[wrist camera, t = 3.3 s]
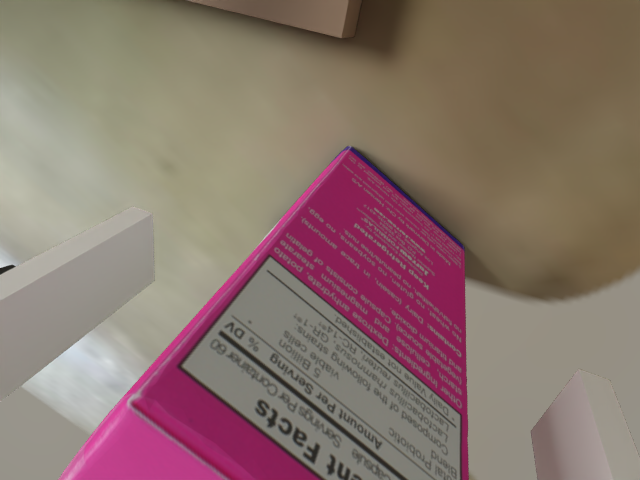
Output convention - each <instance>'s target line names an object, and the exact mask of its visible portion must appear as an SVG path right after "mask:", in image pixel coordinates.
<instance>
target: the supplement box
mask: <svg viewBox="0 0 640 480" xmlns="http://www.w3.org/2000/svg"><path fill="white" fill-rule="evenodd" d="M464 253H465V249H464V246H463V245H462V244H461V243H460V242H459V241H458V240H457V239H455V238H454V237H453V236H452V235H451V234H450V233H449V232H447V231H446V230H445V229H444V228H443V227H442V226H441V225H440V224H439V223H437V222H436V221H435V220H434V219H433V218H432V217H431V216H430V215H428V214H427V213H426V212H425V211H424V210H423V209H422V208H421V207H420V206H418V205H417V204H416V203H415V202H414V201H413V200H412V199H411V198H409V197H408V196H407V195H406V194H405V193H404V192H403V191H402V190H401V189H399V188H398V187H397V186H396V185H395V184H394V183H393V182H392V181H390V180H389V179H388V178H387V177H386V176H385V175H384V174H383V173H381V172H380V171H379V170H378V169H377V168H376V167H375V166H373V165H372V164H371V163H370V162H369V161H368V160H367V159H366V158H364V157H363V156H362V155H361V154H360V153H359V152H357V151H356V150H355V149H354V148H353V147H351V146H347V147H346V148H345V149H344V150H343V151H342V152H341V153H340V154H339V155H338V156H337V157H336V158H335V159H334V160H333V161H332V162H331V163H330V164H329V166H328V167H327V168H326V169H325V170H324V171H323V172H322V173H321V175H320V176H319V177H318V178H317V179H316V180H315V181H314V182H313V183H312V185H311V186H310V187H309V188H308V189H307V190H306V191H305V192H304V194H303V195H302V196H301V197H300V198H299V199H298V200H297V201H296V203H295V204H294V205H293V206H292V207H291V208H290V209H289V210H288V211H287V213H286V214H285V215H284V216H283V217H282V218H281V219H280V220H279V222H278V223H277V224H276V225H275V226H274V227H273V229H272V230H271V231H270V232H269V233H268V234H267V235H266V237H265V238H264V239H263V240H262V241H261V242H260V244H259V245H258V246H257V247H256V248H255V250H254V251H253V252H252V253H251V254H250V255H249V257H248V258H247V259H246V260H245V261H244V262H243V263H242V264H241V266H240V267H239V268H238V269H237V270H236V271H235V272H234V273H233V274H232V276H231V277H230V278H229V279H228V280H227V281H226V282H225V283H224V285H223V286H222V287H221V288H220V289H219V290H218V291H217V292H216V293H215V295H214V296H213V297H212V298H211V299H210V300H209V301H208V302H207V304H206V305H205V306H204V307H203V308H202V309H201V310H200V311H199V313H198V314H197V315H196V316H195V317H194V318H193V319H192V320H191V322H190V323H189V324H188V325H187V326H186V327H185V328H184V329H183V330H182V332H181V333H180V334H179V335H178V336H177V337H176V338H175V339H174V340H173V342H172V343H171V344H170V345H169V346H168V347H167V348H166V349H165V351H164V352H163V353H162V354H161V355H160V356H159V357H158V358H157V360H156V361H155V362H154V363H153V364H152V365H151V366H150V367H149V369H148V370H147V371H146V372H145V373H144V374H143V375H142V376H141V377H140V379H139V380H138V381H137V382H136V383H135V384H134V385H133V386H132V388H131V389H130V390H129V391H128V392H127V393H126V394H125V395H124V397H123V398H122V399H121V400H120V401H119V402H118V403H117V405H116V406H115V407H114V408H113V409H112V410H111V411H110V412H109V414H108V415H107V416H106V417H105V419H104V420H103V421H102V422H101V424H100V425H99V426H98V427H97V429H96V430H95V431H94V432H93V434H92V435H91V436H90V437H89V439H88V440H87V441H86V443H85V444H84V445H83V446H82V448H81V449H80V450H79V452H78V453H77V454H76V456H75V457H74V458H73V460H72V461H71V462H70V464H69V465H68V467H67V468H66V469H65V471H64V472H63V473H62V475H61V476H60V478H59V479H58V480H469V472H468V444H467V443H468V442H467V437H468V415H467V386H466V384H467V377H466V320H465V319H466V317H465V255H464Z"/></svg>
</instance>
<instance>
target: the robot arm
mask: <svg viewBox="0 0 640 480" xmlns="http://www.w3.org/2000/svg"><path fill="white" fill-rule="evenodd" d="M154 281H155V275H154V236H153V213H150V212H148V211H145V210H142V209H139V208H137V207H134V206H132V207H130V208H128V209H126V210H125V211H123V212H121V213H119V214H117V215H115V216H113V217H111V218H109V219H107V220H105V221H103V222H101V223H99V224H97V225H96V226H94V227H92V228H90V229H88V230H86V231H84V232H82V233H80V234H78V235H76V236H74V237H72V238H70V239H68V240H66V241H65V242H63V243H61V244H59V245H57V246H55V247H53V248H51V249H49V250H47V251H45V252H43V253H41V254H39V255H37V256H36V257H34V258H32V259H30V260H28V261H26V262H24V263H22V264H20V265H18V266H14V265H9V266H6V267H2V268H0V402H1V401H2V400H3V399H5V398H6V397H7V396H9V395H10V394H11V393H12V392H14V391H15V390H16V389H17V388H19V387H20V386H21V385H23V384H24V383H25V382H26V381H28V380H29V379H30V378H31V377H33V376H34V375H35V374H37V373H38V372H39V371H40V370H42V369H43V368H44V367H45V366H47V365H48V364H49V363H51V362H52V361H53V360H54V359H56V358H57V357H58V356H59V355H61V354H62V353H63V352H65V351H66V350H67V349H68V348H70V347H71V346H72V345H73V344H75V343H76V342H77V341H79V340H80V339H81V338H82V337H84V336H85V335H86V334H87V333H89V332H90V331H91V330H93V329H94V328H95V327H96V326H98V325H99V324H100V323H101V322H103V321H104V320H105V319H107V318H108V317H109V316H110V315H112V314H113V313H114V312H115V311H117V310H118V309H119V308H121V307H122V306H123V305H124V304H126V303H127V302H128V301H129V300H131V299H132V298H133V297H134V296H136V295H137V294H138V293H140V292H141V291H142V290H143V289H145V288H146V287H147V286H148V285H150V284H151V283H152V282H154ZM531 436H532V444H533V451H534V458H535V464H536V472H537V479H538V480H640V456H639V454H638V451H637V448H636V446H635V443H634V441H633V438H632V436H631V433H630V431H629V428H628V425H627V423H626V420H625V418H624V415H623V413H622V410H621V407H620V405H619V402H618V400H617V397H616V395H615V392H614V390H613V387H612V384H611V382H610V380H609V379H606V378H603V377H600V376H598V375H595V374H592V373H589V372H587V371H584V370H581V369H578V370H577V372H576V373H575V374H574V375H573V377H572V378H571V380H570V381H569V382H568V383H567V385H566V386H565V387H564V389H563V390H562V391H561V392H560V394H559V395H558V397H557V398H556V399H555V400H554V402H553V403H552V404H551V406H550V407H549V408H548V409H547V411H546V412H545V413H544V415H543V416H542V417H541V419H540V420H539V421H538V422H537V424H536V425H535V426H534V428H533V429H532V430H531Z"/></svg>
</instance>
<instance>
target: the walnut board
mask: <svg viewBox="0 0 640 480" xmlns="http://www.w3.org/2000/svg"><path fill="white" fill-rule="evenodd" d="M187 1H191V2H195V3H199V4H203V5H207V6H211V7H216V8H220V9H224V10H228V11H232V12H236V13H240V14H244V15H248V16H253V17H257V18H261V19H265V20H269V21H273V22H277V23H281V24H285V25H290V26H294V27H298V28H302V29H306V30H310V31H314V32H318V33H322V34H327V35H331V36H335V37H339V38H347V37H354V36H355V31H356V27H357V22H358V17H359V12H360V8H361V3H362V0H187Z"/></svg>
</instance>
